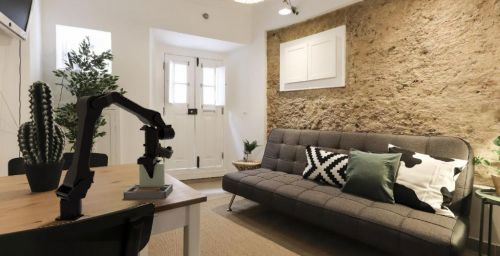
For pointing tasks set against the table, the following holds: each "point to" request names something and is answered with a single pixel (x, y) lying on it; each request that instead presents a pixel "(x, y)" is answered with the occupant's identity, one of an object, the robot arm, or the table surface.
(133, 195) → the rack
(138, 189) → the offcut top
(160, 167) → the board
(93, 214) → the table surface
